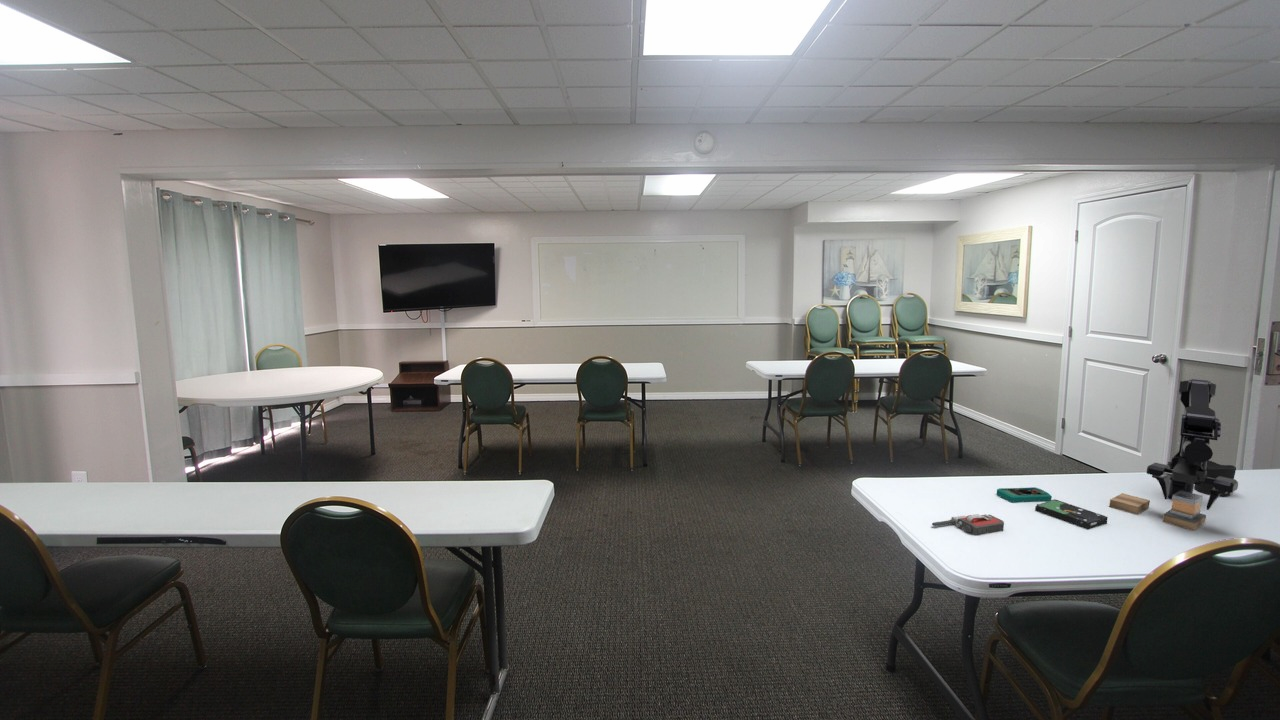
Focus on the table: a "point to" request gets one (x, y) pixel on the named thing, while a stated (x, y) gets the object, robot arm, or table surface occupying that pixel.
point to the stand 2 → (1184, 521)
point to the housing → (1186, 505)
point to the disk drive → (1071, 514)
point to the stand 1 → (1129, 503)
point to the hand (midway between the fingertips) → (1186, 504)
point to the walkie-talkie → (975, 523)
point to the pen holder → (1214, 472)
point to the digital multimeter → (1023, 494)
